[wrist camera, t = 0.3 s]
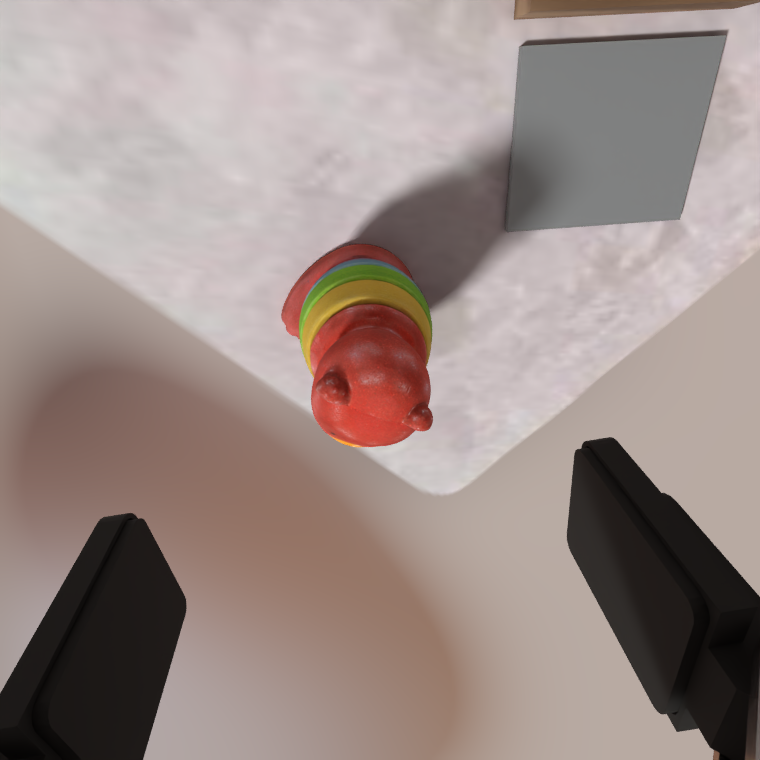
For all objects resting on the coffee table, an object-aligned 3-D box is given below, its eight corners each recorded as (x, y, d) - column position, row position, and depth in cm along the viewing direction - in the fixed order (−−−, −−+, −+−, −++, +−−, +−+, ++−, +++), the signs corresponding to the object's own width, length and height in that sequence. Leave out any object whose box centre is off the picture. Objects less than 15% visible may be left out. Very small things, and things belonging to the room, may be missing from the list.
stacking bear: (273, 323, 40) (236, 457, 25) (327, 213, 36) (322, 292, 21) (385, 374, 44) (413, 520, 28) (445, 278, 40) (516, 387, 24)
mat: (519, 46, 32) (522, 46, 31) (720, 36, 33) (726, 35, 32) (505, 230, 38) (507, 231, 37) (675, 218, 39) (679, 219, 38)
